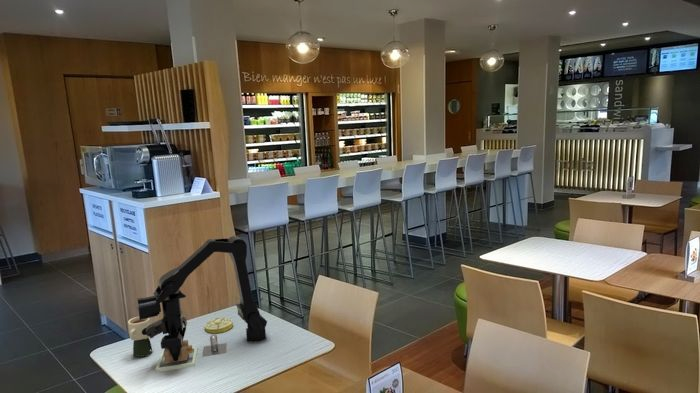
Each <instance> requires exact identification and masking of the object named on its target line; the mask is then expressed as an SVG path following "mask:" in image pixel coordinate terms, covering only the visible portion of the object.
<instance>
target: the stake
mask: <svg viewBox="0 0 700 393" xmlns="http://www.w3.org/2000/svg"><path fill="white" fill-rule="evenodd" d="M209 342H210V345H205V346H203V347H202V348H203V349H202V355H201V356H202V358H203V357H211V356H215V355H222V354H226V353H227V342H225V343H218V336H217V334H211V335H210V336H209Z"/></svg>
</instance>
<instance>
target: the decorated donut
mask: <svg viewBox="0 0 700 393" xmlns="http://www.w3.org/2000/svg"><path fill="white" fill-rule="evenodd" d="M233 325H234V322H233V320H232V319H231V318H227V317H217V318H214V319H211V320H208V321H207V322H206V323H205V324H204V326H203V328H204V329H205V332H206V333H208V334H211V335H217V334H223V333H226V332H228V331H230V330H231V329H232V328H233Z"/></svg>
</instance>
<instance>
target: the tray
mask: <svg viewBox="0 0 700 393" xmlns="http://www.w3.org/2000/svg"><path fill="white" fill-rule="evenodd" d="M192 348H193V352H192V353H193V355H192V361H191V362H186V363H181V364H173V365H169V366H161V365H162V363H163V360H164V351H162V352H161V353H160V356H159V358H158V360H157V361H158V362H157V364H156V367H155V373H159V372H166V371H167V372H168V371H174V370H179V369H185V368H192V367H195V366H196V361H197V355H198V347H197V346H196V347H195V346H194V347H192Z"/></svg>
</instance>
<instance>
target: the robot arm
mask: <svg viewBox="0 0 700 393" xmlns="http://www.w3.org/2000/svg"><path fill="white" fill-rule="evenodd" d="M214 253H226V254H228V255H229V257H230V260H231V261H232V263H233V269H234V272H235V278H236V282H237V288H238V292H239V293H238V294H239V298H240V300H239V303H236V305H235V306H236V308H237V315H238V317H240V318H241V319H242V320H243V321H244V323H246V324H247V328H245V333H246V334H245V335H246V341H247V342H250V343H251V342H252V343H258V342H262V341H264V340H267V334H266V332H267V331H266V327H267V324H268V321H267V320H266V318H265V317H264V316H262V315H261V313H260V310H259V308H258V306H257V304H256V302H255V300H254V297H253V292H252V288H251V283H250V278H249V272H248V267H247V263H246V262H247V258H248V257H247V256H248V244H247V242H246V241H245V240H243V239H242V238H240V237H239V236H235V235H234V236H233V235H232V236H230V237H229V238H227V237H226V238H225V237H223V238H215V239H214V238H209V239H206V241H205V242H204V243H203V244H202V245H201V246H199V247H198V249H196V250H195V252H193V253H192V254H191V255H190V256H188V258H186V259H185V260H184V261H183V262H182V263H181V264H180V265H178V266H177V267H176V268H173V269H171V270H169V271H167V272H166V273H165V274H162V275H161V276H160V278H159V279H158V285H157V287H156V289H155V290H154V292H153V295H151V296H147V297H138V298H137V299H136V301H137V306H136V309H137V317H139V320H142V319H146V318H154V317H158V315H160V314H161V312H162V318H161V319H159V320H156V321H155V322H152V323H150V325H149V326H148V327H147V329H146V333H147V336H149V339H154V338H155V337H156V336H158V335H159V334H162V335H164V336H163V337H162V338H161V341H160V349H161V350H164V349H165V348H167V349H169V351H170V353H171V355H172V358H173V360H174V361H178V357H179V354H180V350H181V347H182V343H183V341H184V339H185V338H184V337H185V334H186V332H187V331H186V330H187V325H188V321H187V320H188V319H187V318H186V317H185V316H183V310H182V307H181V299H185V298H186V297H187V296H186V294H185V292H183V291H181V289H180V288H181V287H182V286H183V285H184V284H185V282H186V280H187V278H188V277H189V276H190V275H191V274H192V273H193V272H194V271H195V270H196V269H198V268H199V266H201V265H202V264H203V263H204V262H205V261H206V260H207V259H208V258H209V257H210V256H212V255H213V254H214ZM178 362H179V361H178Z"/></svg>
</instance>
